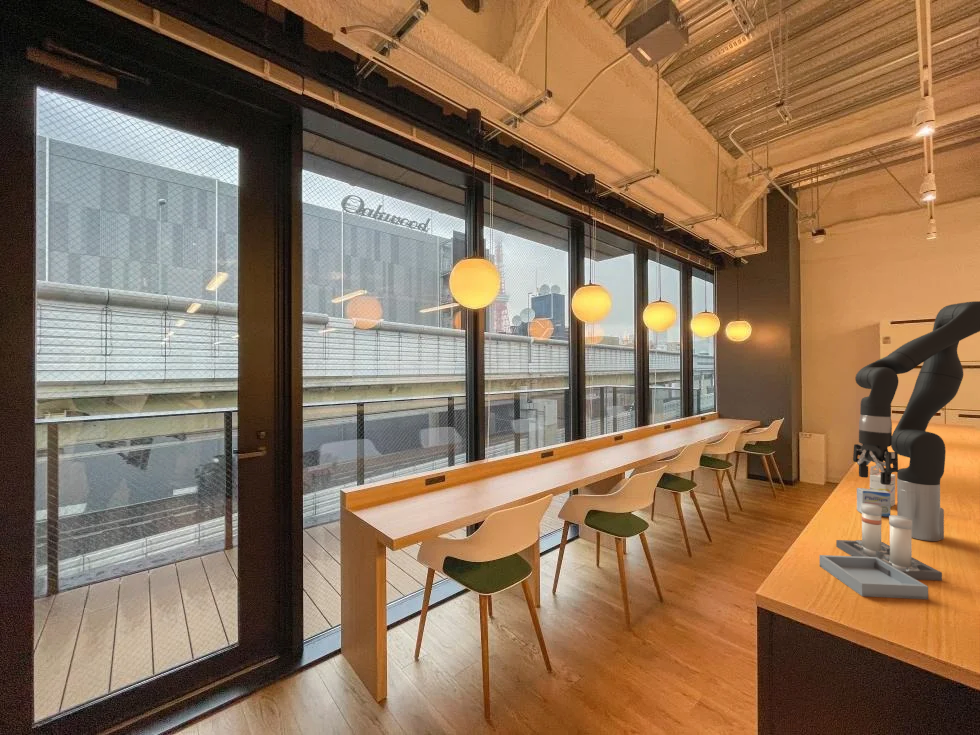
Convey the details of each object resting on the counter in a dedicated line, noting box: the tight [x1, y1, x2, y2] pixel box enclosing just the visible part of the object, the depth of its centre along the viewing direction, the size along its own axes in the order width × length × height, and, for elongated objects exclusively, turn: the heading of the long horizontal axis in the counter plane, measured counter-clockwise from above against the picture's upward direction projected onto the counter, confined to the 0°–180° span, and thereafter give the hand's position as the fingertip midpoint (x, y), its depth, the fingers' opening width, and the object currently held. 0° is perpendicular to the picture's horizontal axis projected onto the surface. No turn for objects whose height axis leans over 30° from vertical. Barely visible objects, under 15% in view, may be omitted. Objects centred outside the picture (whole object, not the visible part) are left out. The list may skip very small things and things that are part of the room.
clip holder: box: [835, 539, 943, 581], centre depth 109 cm, size 12×18×2 cm
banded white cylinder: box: [861, 503, 883, 557], centre depth 113 cm, size 4×4×14 cm
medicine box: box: [856, 487, 891, 518], centre depth 143 cm, size 8×4×9 cm, turn 68°
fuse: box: [888, 514, 913, 569], centre depth 104 cm, size 4×4×14 cm
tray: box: [819, 554, 929, 600], centre depth 100 cm, size 14×14×3 cm
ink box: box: [869, 464, 896, 508], centre depth 152 cm, size 9×5×15 cm, turn 117°
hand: (874, 480), depth 126 cm, fingers open, 8 cm apart
